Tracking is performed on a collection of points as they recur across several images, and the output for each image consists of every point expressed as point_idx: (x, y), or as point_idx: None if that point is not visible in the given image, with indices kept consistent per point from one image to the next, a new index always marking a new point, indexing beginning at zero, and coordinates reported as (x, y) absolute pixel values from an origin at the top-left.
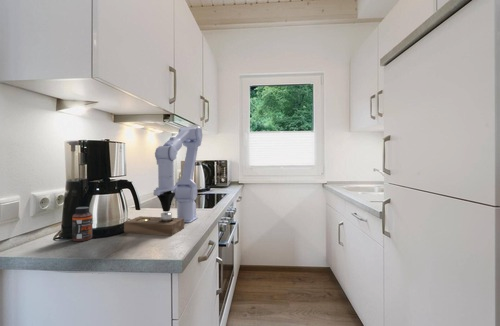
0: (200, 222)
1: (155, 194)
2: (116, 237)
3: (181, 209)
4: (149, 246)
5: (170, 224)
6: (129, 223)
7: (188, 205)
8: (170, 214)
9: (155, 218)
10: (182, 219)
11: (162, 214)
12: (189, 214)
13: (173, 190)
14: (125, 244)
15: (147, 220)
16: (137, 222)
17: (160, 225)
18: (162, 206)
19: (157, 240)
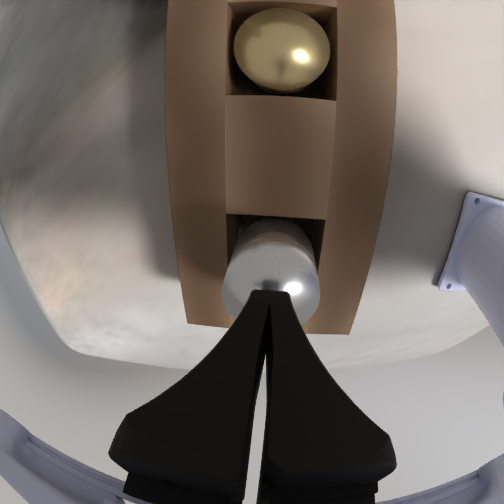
0: (435, 323)
1: (9, 428)
2: (111, 29)
3: (496, 285)
4: (72, 254)
5: (190, 314)
6: (170, 7)
7: (499, 337)
8: None
9: (346, 131)
10: (327, 333)
11: (224, 281)
12: (475, 301)
13: (445, 489)
14: (52, 152)
15: (272, 88)
16: (179, 57)
17: (179, 254)
18: (235, 325)
19: (125, 252)
